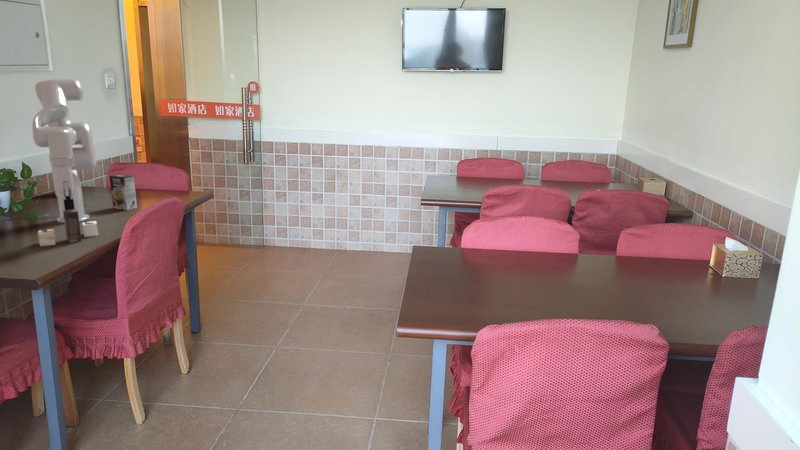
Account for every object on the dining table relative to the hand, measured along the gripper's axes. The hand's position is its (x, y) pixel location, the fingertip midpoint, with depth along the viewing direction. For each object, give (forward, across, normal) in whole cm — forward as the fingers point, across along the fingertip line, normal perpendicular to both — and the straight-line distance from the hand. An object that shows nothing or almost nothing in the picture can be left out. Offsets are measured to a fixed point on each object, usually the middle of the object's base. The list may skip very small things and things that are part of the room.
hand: (69, 209), depth 222 cm
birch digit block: (+13, 0, -9) cm, 16 cm away
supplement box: (+12, -97, -2) cm, 98 cm away
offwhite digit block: (+13, -6, +6) cm, 15 cm away
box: (+13, 0, 0) cm, 13 cm away
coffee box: (+12, -49, +22) cm, 55 cm away
